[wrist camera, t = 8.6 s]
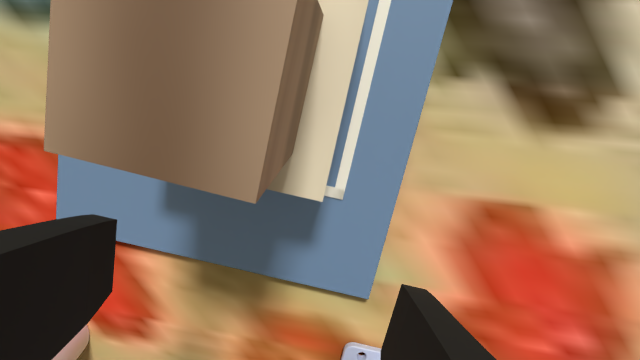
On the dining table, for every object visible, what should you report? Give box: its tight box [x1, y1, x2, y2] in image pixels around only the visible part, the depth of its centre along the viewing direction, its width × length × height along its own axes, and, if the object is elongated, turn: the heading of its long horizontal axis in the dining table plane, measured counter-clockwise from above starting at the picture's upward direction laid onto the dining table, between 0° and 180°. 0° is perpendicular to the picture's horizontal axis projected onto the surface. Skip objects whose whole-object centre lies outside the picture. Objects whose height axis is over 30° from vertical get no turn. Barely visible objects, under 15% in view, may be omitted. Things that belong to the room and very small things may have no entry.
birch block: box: [267, 0, 369, 202], centre depth 16 cm, size 8×8×4 cm
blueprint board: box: [56, 0, 453, 299], centre depth 19 cm, size 17×16×1 cm
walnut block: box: [44, 0, 324, 204], centre depth 11 cm, size 5×5×6 cm
